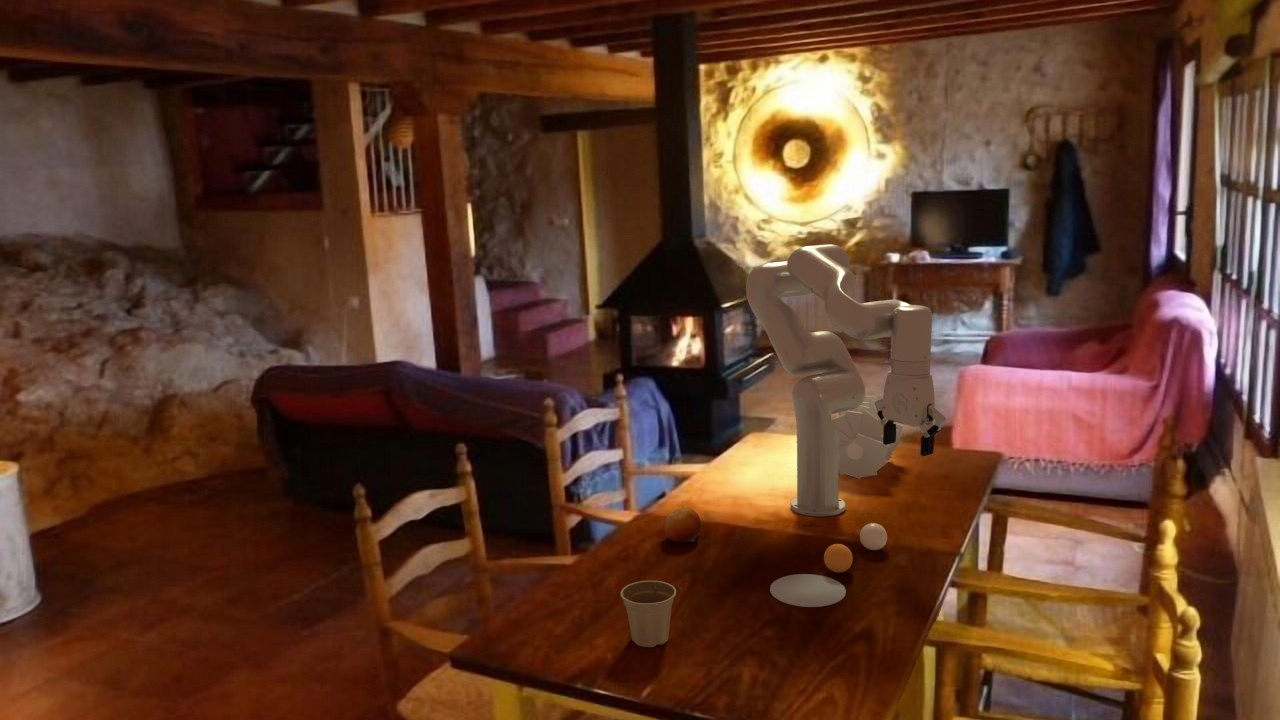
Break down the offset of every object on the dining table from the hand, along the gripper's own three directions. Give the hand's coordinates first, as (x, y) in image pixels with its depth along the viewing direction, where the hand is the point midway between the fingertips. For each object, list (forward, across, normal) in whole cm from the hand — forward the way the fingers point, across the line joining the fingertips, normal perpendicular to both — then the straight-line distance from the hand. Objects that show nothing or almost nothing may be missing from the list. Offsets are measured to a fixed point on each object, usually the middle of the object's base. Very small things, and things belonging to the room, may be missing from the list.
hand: (907, 448), depth 195 cm
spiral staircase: (+22, -42, +32) cm, 57 cm away
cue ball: (+18, -2, -7) cm, 19 cm away
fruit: (+22, -32, -34) cm, 51 cm away
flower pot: (+21, +1, -66) cm, 69 cm away
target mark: (+21, +4, -31) cm, 38 cm away
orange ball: (+18, +1, -21) cm, 27 cm away
